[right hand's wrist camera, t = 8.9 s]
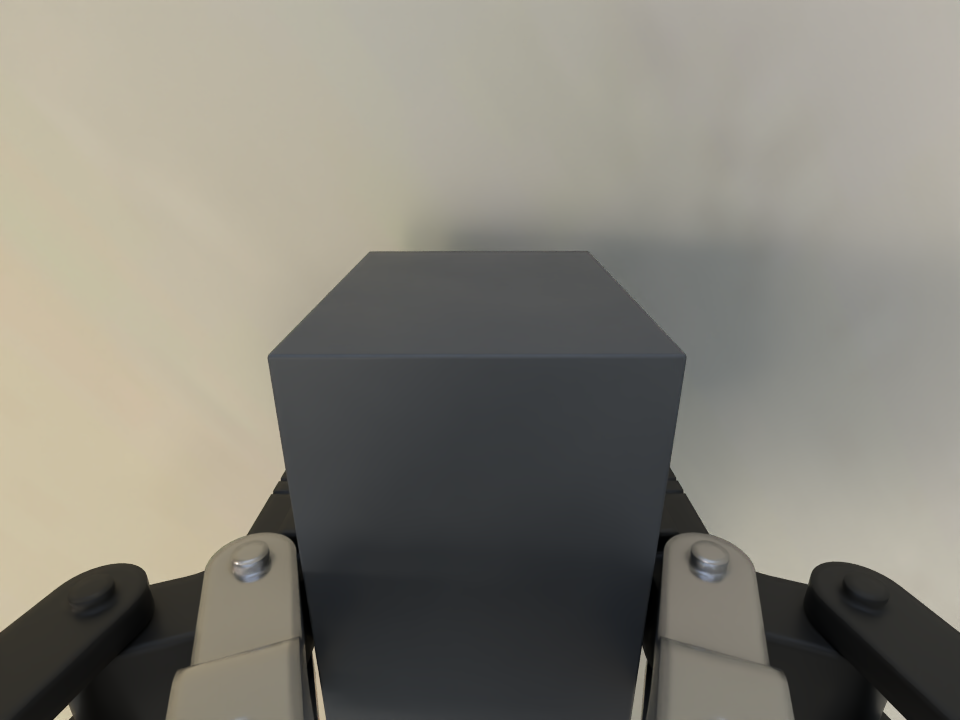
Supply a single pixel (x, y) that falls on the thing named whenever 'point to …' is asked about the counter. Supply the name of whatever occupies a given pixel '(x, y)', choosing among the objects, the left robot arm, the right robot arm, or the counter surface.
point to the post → (477, 483)
